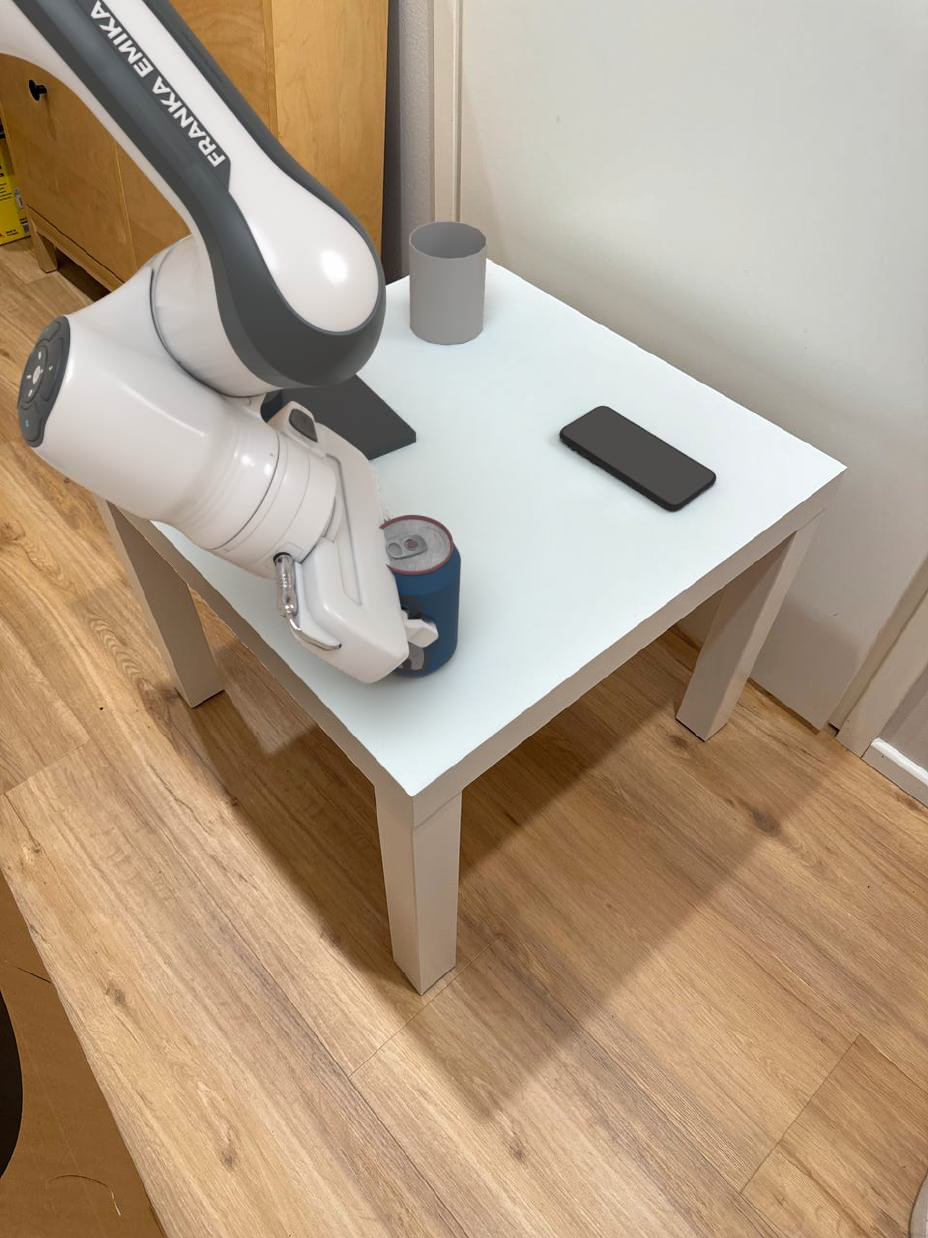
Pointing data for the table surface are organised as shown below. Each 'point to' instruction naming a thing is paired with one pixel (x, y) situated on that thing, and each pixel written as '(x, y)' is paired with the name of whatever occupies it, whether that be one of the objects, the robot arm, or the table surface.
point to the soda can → (425, 585)
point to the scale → (348, 414)
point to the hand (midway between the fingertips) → (421, 592)
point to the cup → (447, 281)
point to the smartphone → (638, 457)
